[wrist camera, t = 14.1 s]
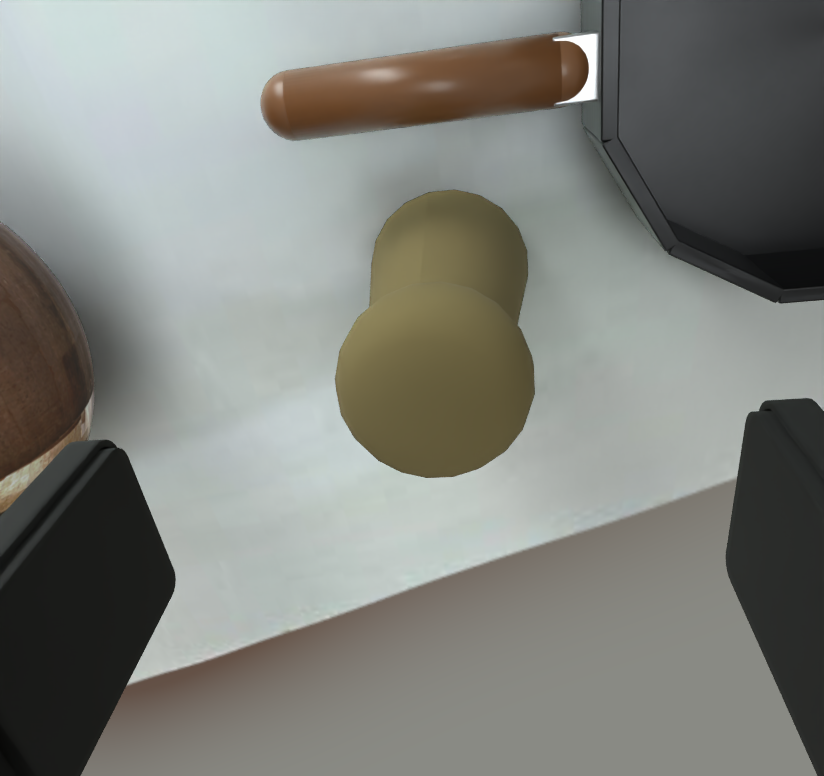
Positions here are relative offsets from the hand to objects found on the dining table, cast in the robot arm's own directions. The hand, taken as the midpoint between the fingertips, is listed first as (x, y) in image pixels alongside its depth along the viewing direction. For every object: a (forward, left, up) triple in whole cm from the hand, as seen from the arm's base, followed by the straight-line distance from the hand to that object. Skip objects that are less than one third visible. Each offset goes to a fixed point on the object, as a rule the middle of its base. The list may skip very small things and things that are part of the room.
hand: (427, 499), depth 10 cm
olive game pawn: (0, -2, -17) cm, 17 cm away
